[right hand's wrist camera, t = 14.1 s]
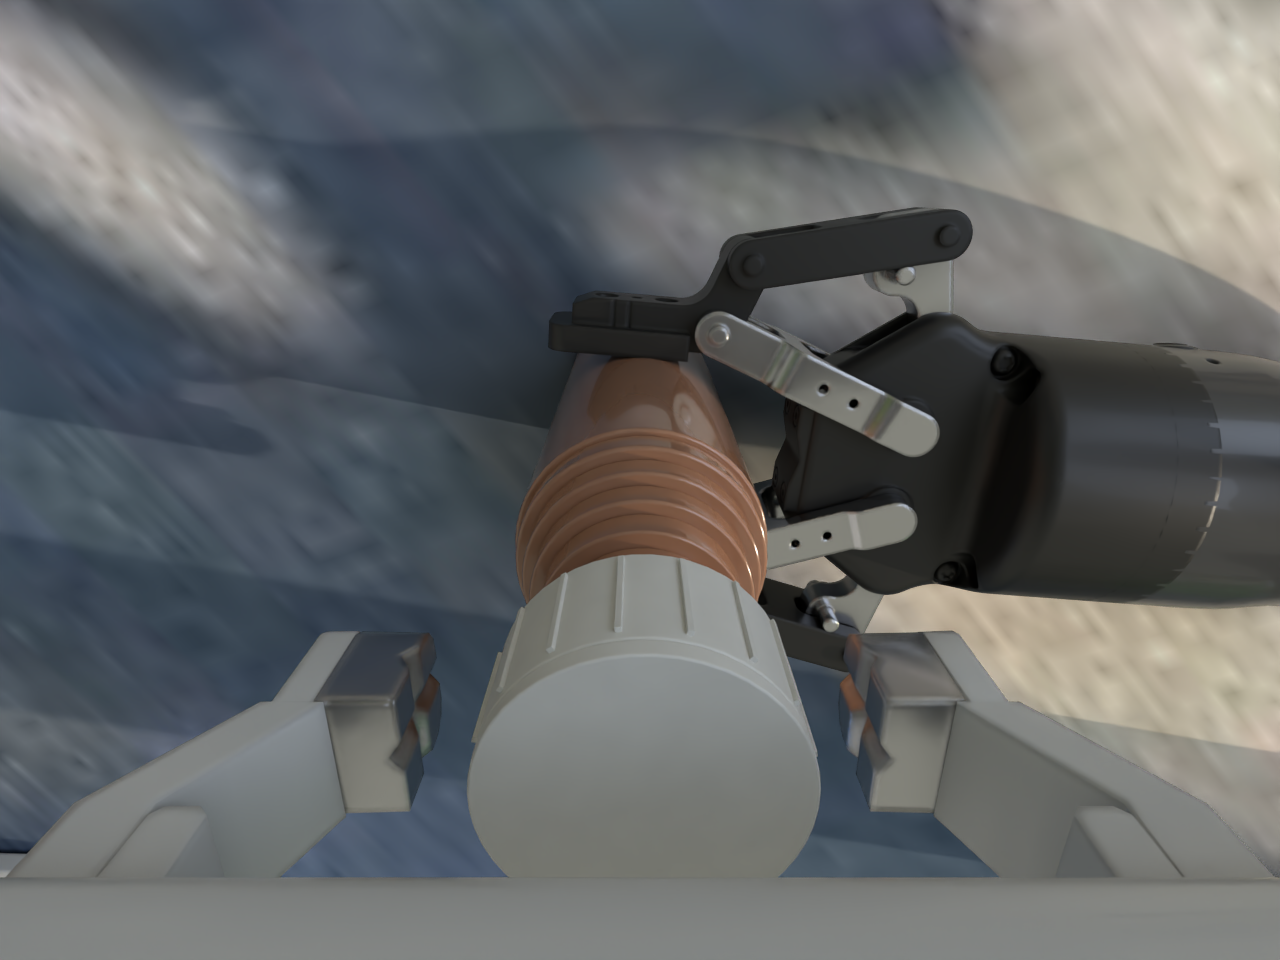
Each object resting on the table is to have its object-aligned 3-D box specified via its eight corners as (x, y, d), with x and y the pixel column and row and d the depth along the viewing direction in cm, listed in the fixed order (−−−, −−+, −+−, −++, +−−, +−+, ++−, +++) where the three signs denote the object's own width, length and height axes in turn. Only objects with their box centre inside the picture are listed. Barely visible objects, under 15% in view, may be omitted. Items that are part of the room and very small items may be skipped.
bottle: (699, 450, 28) (811, 925, 10) (568, 440, 27) (441, 903, 10) (715, 319, 26) (889, 610, 8) (575, 307, 26) (432, 576, 8)
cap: (804, 558, 10) (851, 662, 8) (766, 793, 11) (797, 933, 9) (496, 543, 10) (456, 643, 7) (501, 782, 11) (469, 921, 9)
